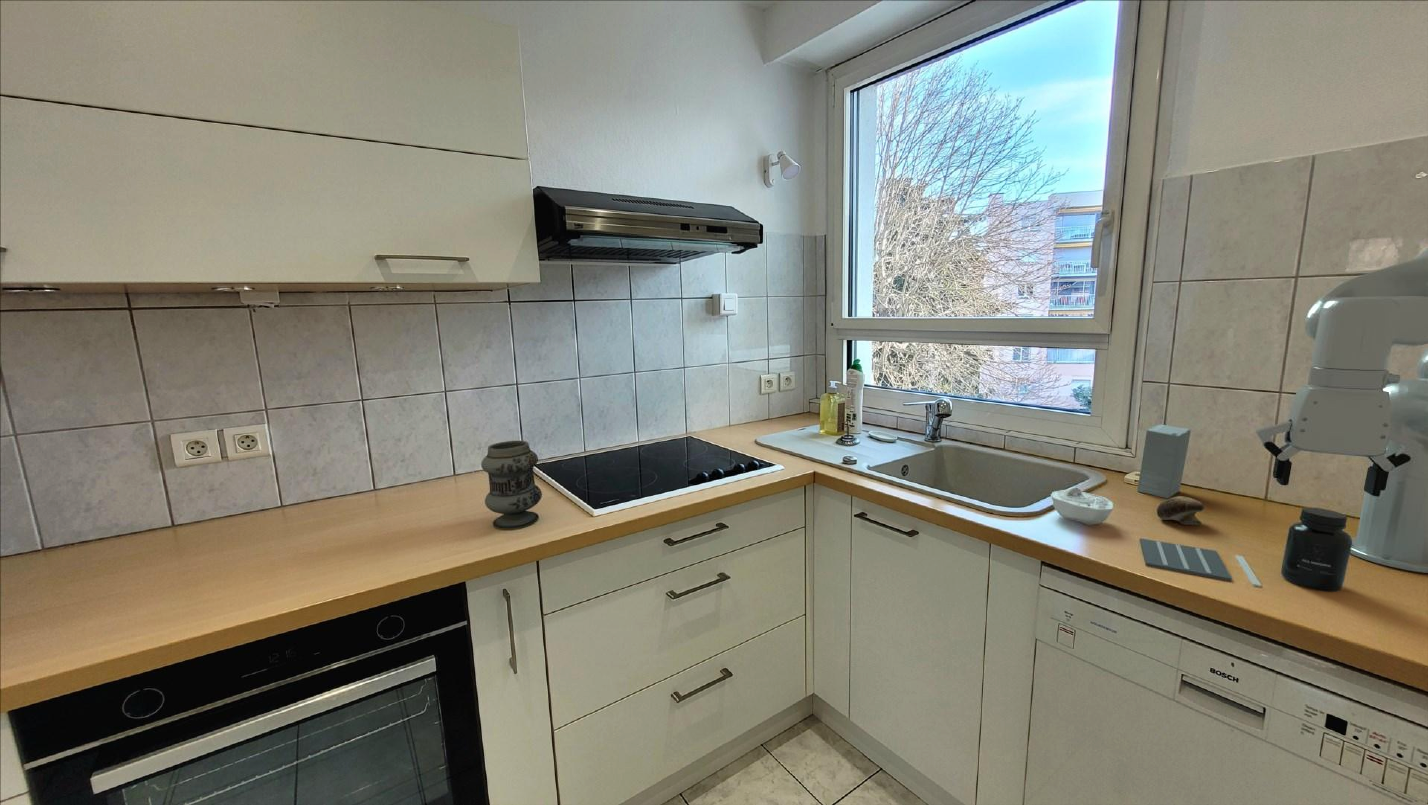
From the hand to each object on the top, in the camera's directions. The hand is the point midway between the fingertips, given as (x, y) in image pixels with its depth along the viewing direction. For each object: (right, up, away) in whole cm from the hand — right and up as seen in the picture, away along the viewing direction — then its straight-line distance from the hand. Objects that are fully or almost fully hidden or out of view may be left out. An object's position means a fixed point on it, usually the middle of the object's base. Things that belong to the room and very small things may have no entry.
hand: (1325, 488), depth 84 cm
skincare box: (+12, -8, +46) cm, 48 cm away
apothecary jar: (-141, -14, +37) cm, 146 cm away
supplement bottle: (+1, -16, +3) cm, 16 cm away
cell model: (-18, -12, +30) cm, 37 cm away
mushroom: (+1, -12, +28) cm, 30 cm away
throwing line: (-5, -15, +7) cm, 17 cm away
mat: (-12, -15, +12) cm, 22 cm away
